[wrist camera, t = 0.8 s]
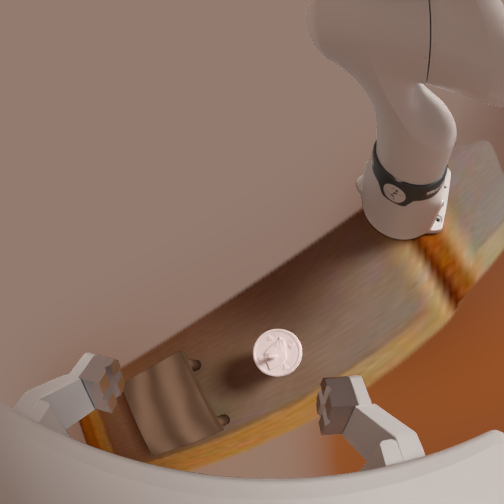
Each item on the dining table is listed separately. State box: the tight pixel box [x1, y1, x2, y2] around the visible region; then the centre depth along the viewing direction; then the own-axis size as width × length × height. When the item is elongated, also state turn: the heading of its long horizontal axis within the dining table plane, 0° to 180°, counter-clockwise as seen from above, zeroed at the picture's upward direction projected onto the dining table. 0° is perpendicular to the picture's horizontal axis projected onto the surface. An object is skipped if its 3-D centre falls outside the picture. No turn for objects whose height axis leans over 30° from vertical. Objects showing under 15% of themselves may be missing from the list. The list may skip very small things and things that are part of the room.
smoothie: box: [253, 329, 302, 377], centre depth 37 cm, size 6×6×14 cm
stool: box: [123, 351, 230, 456], centre depth 41 cm, size 14×14×7 cm
